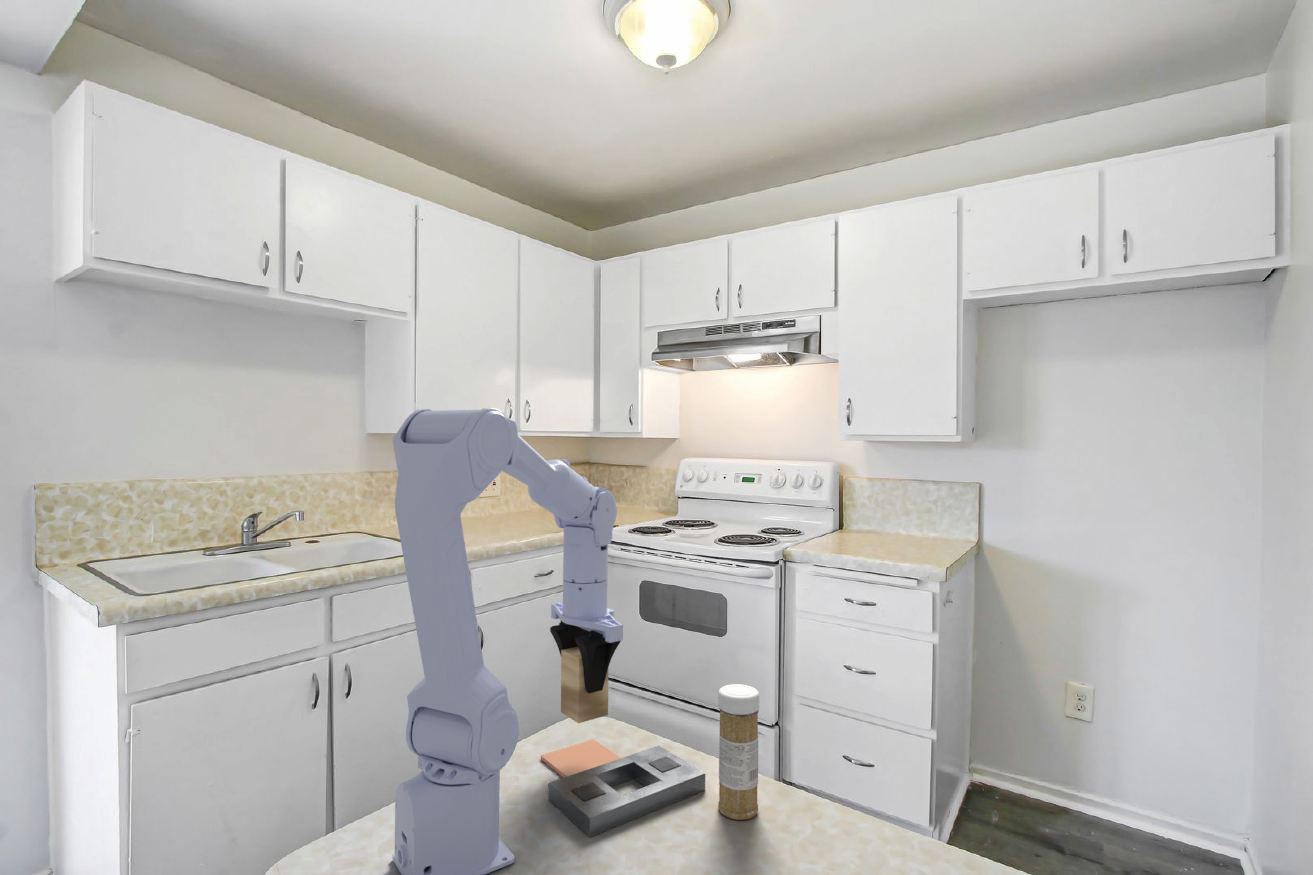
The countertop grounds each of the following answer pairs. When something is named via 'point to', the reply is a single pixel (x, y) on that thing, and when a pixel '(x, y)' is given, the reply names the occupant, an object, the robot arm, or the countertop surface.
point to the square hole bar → (605, 808)
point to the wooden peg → (580, 690)
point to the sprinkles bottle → (738, 751)
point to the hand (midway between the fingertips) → (584, 685)
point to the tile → (579, 758)
